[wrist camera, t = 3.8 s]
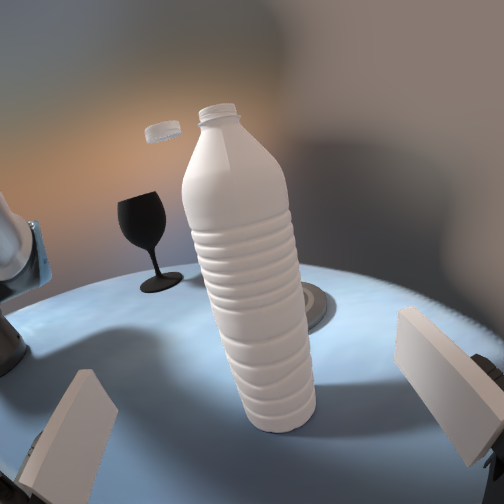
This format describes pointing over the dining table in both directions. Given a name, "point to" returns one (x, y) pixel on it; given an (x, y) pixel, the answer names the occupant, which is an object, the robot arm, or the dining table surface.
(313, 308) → the slate coaster
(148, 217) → the wine glass
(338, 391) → the dining table surface
